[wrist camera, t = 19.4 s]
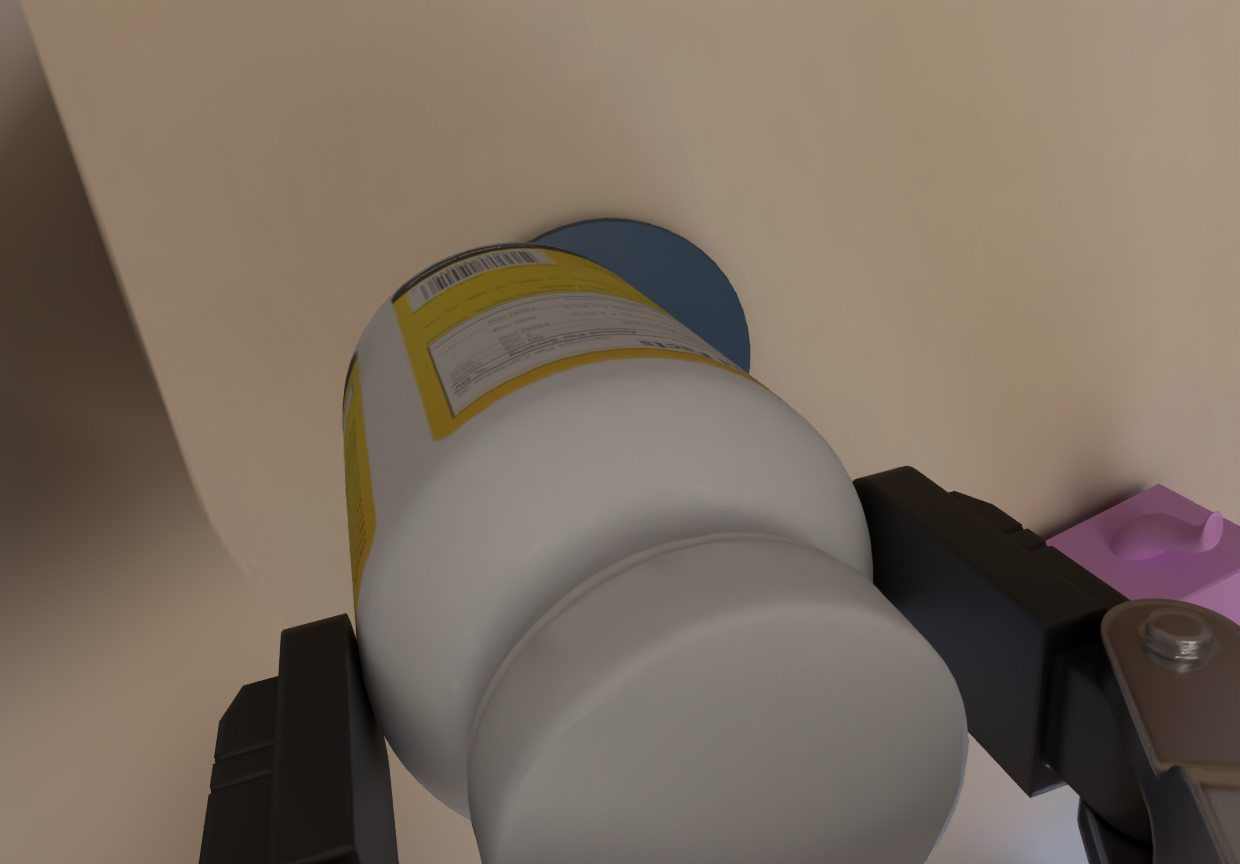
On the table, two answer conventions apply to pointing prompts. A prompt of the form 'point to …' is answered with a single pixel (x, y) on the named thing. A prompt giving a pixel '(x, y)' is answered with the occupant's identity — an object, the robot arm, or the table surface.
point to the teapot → (1161, 551)
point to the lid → (664, 277)
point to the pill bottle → (625, 587)
